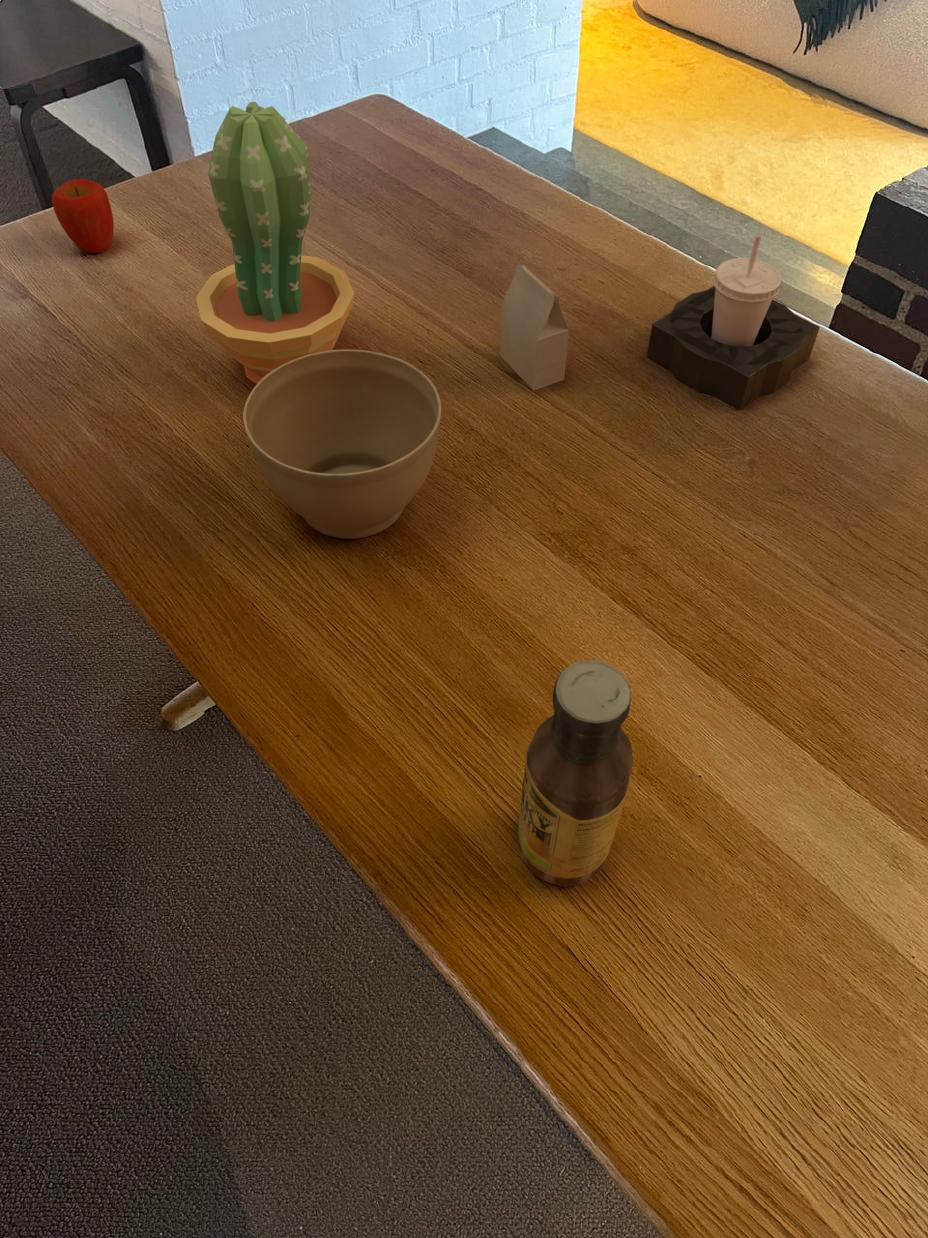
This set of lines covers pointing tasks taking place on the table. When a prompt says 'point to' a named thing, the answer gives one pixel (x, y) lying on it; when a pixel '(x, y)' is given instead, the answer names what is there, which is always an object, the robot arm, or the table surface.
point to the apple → (85, 214)
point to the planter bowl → (344, 437)
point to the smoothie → (742, 297)
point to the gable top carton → (533, 331)
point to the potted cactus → (268, 249)
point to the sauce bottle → (576, 775)
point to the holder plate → (730, 350)
